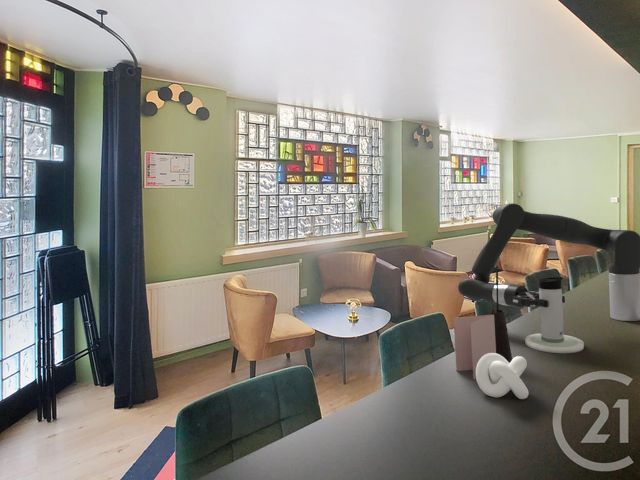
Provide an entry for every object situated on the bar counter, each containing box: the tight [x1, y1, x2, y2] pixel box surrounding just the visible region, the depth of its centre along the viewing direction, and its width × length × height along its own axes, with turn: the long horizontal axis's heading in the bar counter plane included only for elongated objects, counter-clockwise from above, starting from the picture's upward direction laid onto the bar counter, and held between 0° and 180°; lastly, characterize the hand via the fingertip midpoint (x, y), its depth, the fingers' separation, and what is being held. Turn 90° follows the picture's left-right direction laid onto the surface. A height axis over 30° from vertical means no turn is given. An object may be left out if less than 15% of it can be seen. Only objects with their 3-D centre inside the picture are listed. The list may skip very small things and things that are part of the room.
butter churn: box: [489, 265, 513, 363], centre depth 117 cm, size 9×10×28 cm
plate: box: [524, 332, 585, 354], centre depth 126 cm, size 16×16×2 cm
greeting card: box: [453, 314, 496, 380], centre depth 108 cm, size 11×7×15 cm, turn 92°
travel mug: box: [538, 276, 565, 343], centre depth 126 cm, size 6×7×20 cm
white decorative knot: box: [475, 353, 529, 400], centre depth 94 cm, size 11×12×9 cm
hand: (556, 301), depth 124 cm, fingers open, 8 cm apart
